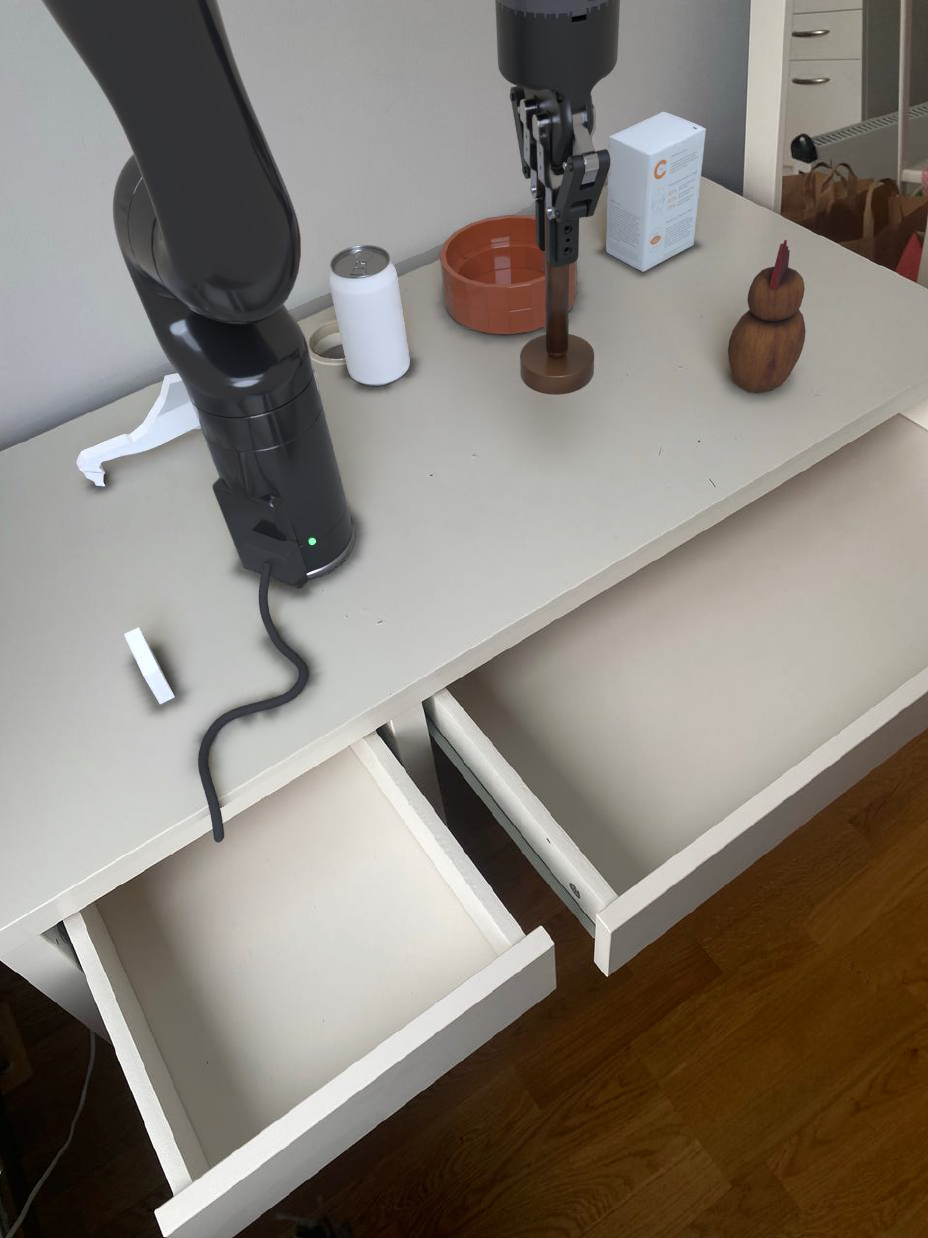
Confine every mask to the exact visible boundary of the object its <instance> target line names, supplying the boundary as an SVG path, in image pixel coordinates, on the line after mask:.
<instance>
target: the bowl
mask: <svg viewBox="0 0 928 1238" xmlns="http://www.w3.org/2000/svg"><path fill="white" fill-rule="evenodd" d="M439 259H440V260H439V261H440V269H441V277H442V278H441V279H442V288H443V296H444V303H445V308H446V311H447V312H448V313H449V314H450V316H451V318H453V319H454V320H455V321H456V322H458V323H459V324H461V325H463V326H464V327H466V328H468V329H471V330H474V331H477V332H478V331H479V332H483V333H486V334H495V335H496V334H497V335H498V334H499V335H514V334H522V333H529V332H533V331H536V330H538V329H539V330H540V329H542V328H544V327H545V328H546V312H545V251H541V250H540V249H539V247H538V246H537V244H536V215H535V216H534V215H528V214H506V215H498V216H490V217H486V218H483V219H480V220H476V221H474V222H471V223H468V224H467V225H464V226H462V227H461V228H458V229H457V230H456V231H453V233H452V234H451V235H450V236H449V237H448V238H446V240H445V241H444V242H443V245H442V246H441V250H440V252H439ZM577 294H578V259H577V260H576V261H575V262H574V263H571V264H569V311H570V310H571V309H572V307H573V306H574V305H575V304H576V300H577Z"/></svg>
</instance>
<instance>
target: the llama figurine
mask: <svg viewBox="0 0 928 1238" xmlns="http://www.w3.org/2000/svg"><path fill="white" fill-rule="evenodd" d="M192 430H201V427H200V424H199V421H198V419H197V416H196V413H195V411H194V408H193V405H192V403H191V400H190V398H189V395H188V393H187V390H186V388H185V385H184V383H183V381H182V379H181V377H180V376H179V374H178V373H177V372H175V373H171V374H165V375H164V376H163V381H162V385H161V389H160V393H159V395H158V397H157V399H156V400H155V402H154V404H153V406H152V407H151V409H150V411H149V412H148V414H147V415H146V417H145V419H144V421H143V422H142V423H141V424H140V425H139V426H138V427H136V428H135V429H133V430H132V431H131V432H130V433H123V434H120V435H117V436H115V437H113V438H109V439H107V440H105V441H102V442H100V443H98V444H95V445H93V446H90V447H88V448H85V449H83V450H81V451H80V453H79V454H78V457H77V459H76V462H75V464H76V466H77V468H78V469H79V472H80V473H81V472H82V473H83V474H84V477H86V479H88V480H90V481H92V482H93V483H94V484H95V486H96V487H106V484H105V483H104V476H105V474H106V471H105V469H104V468H103V466H102V463H103V462H107V461H111V460H114V459H117V458H119V457H124V456H131V455H135V454H139V453H142V452H143V453H144V452H146V451H150V450H152V449H155V448H156V447H160V446H161V445H163V444H166V443H167V442H169V441H172V440H174V439H175V438H178V437H179V436H182V435H183V434H186V433H188V432H189V431H192Z"/></svg>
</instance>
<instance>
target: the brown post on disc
mask: <svg viewBox="0 0 928 1238" xmlns="http://www.w3.org/2000/svg"><path fill="white" fill-rule="evenodd" d="M559 190H560V187H559V188H558V193H559ZM544 202H545V312H546V326H545V334H542V335H539V336H537V337H534V338H532V339H531V340H529V341H528V342H526V343H525V345H524V346H523V347H522V348H521V351H520V353H519V368H520V379H521V381H522V382H523V383H524V384H525V385H526V387H527V388H529V389H530V390H533V391H535V392H537V393H540V394H543V395H550V396H560V395H568V394H571V393H575V392H577V391H580V390H581V389H583V388H584V387H586V386H587V385H588V384H589V383H590V382H591V380H592V379H593V377H594V374H595V351H594V348H593V346H592V345H591V343H590V342H589V341H587V340H586V339H584V338H583V337H581V336H578V335H575V334H571V333H569V329H570V328H569V322H570V321H569V320H570V318H569V317H570V316H569V315H570V312H569V311H570V310H569V264H567V265H563V266H558V267H552V266H551V265H550V263H549V262H548V260H547V237H546V215H547V214H546V196H545V201H544Z"/></svg>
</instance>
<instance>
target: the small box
mask: <svg viewBox="0 0 928 1238" xmlns="http://www.w3.org/2000/svg"><path fill="white" fill-rule="evenodd" d="M706 133H707V128H705V127H703V126H701V125H700V124H697V123H694V122H693V121H690V120H688V119H685V118H682V117H680V116H678V115H674V114H672V113H669V112H668V111H667V112H666V111H661V112H659V113H657V114H655V115H653V116H651V117H648V118H646V119H644V120H642V121H640V122H638V123H635V124H633V125H631V126H629V127H627V128H624V129H623V130H619V131H618V132H616V133H613V134H611V135H609V136H608V152H609V155H610V168H609V171H608V174H607V194H606V195H607V196H606V231H605V233H606V234H605V252H606V253H607V254H609V255H610V256H612V257H614V258H616V259H618V260H620V261H621V262H623V263H625V264H627V265H629V266H631V267H632V268H634V269H636V270H638V271H641V272H642V273H645V272H646V271H648V270H650V269H652V268H654V267H655V266H657V265H659V264H661V263H663V262H664V261H666V260H668V259H670V258H672V257H674V256H676V255H677V254H679V253H681V252H683V251H685V250H687V249H689V248H691V247H693V246H694V245H695V234H696V226H697V218H698V217H697V215H698V208H699V207H698V206H699V197H700V189H701V181H702V171H703V170H702V169H703V161H704V154H705V153H704V151H705V144H706V143H705V141H706Z"/></svg>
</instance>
